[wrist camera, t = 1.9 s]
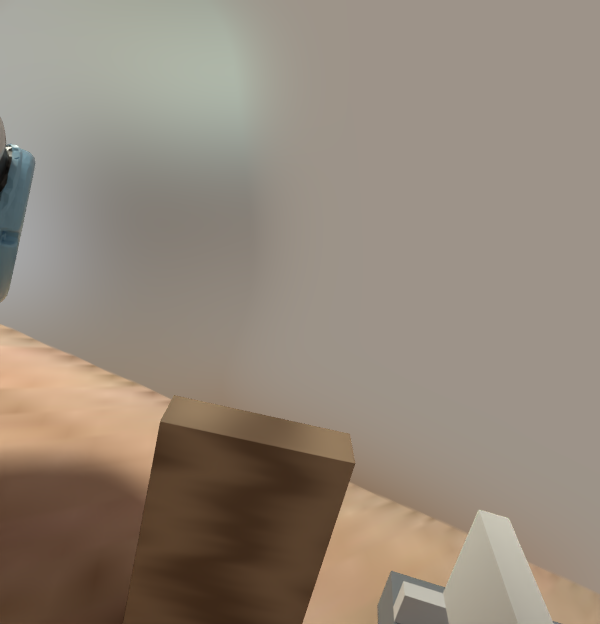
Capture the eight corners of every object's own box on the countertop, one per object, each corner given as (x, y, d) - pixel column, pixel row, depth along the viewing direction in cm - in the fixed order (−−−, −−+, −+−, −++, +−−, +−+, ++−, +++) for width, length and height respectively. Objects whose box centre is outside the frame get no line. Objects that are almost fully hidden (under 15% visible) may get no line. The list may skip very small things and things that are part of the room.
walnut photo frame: (118, 649, 26) (160, 421, 21) (134, 605, 28) (174, 394, 24) (283, 678, 26) (355, 463, 22) (285, 633, 29) (349, 432, 25)
